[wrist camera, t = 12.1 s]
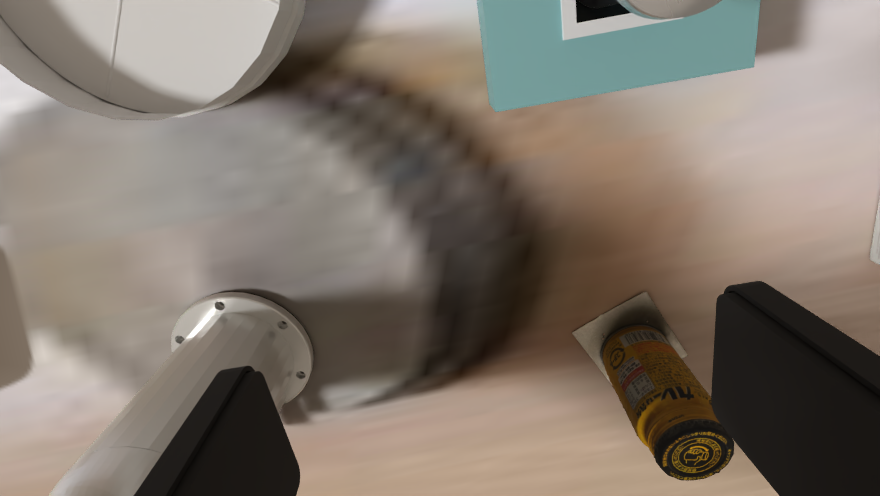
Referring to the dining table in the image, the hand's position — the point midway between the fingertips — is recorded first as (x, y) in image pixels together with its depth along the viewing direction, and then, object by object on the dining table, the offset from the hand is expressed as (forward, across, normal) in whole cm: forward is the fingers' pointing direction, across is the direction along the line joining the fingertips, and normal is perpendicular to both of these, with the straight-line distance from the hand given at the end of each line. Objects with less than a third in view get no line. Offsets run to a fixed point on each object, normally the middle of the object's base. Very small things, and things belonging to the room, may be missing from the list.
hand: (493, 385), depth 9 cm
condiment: (+28, -14, +20) cm, 37 cm away
